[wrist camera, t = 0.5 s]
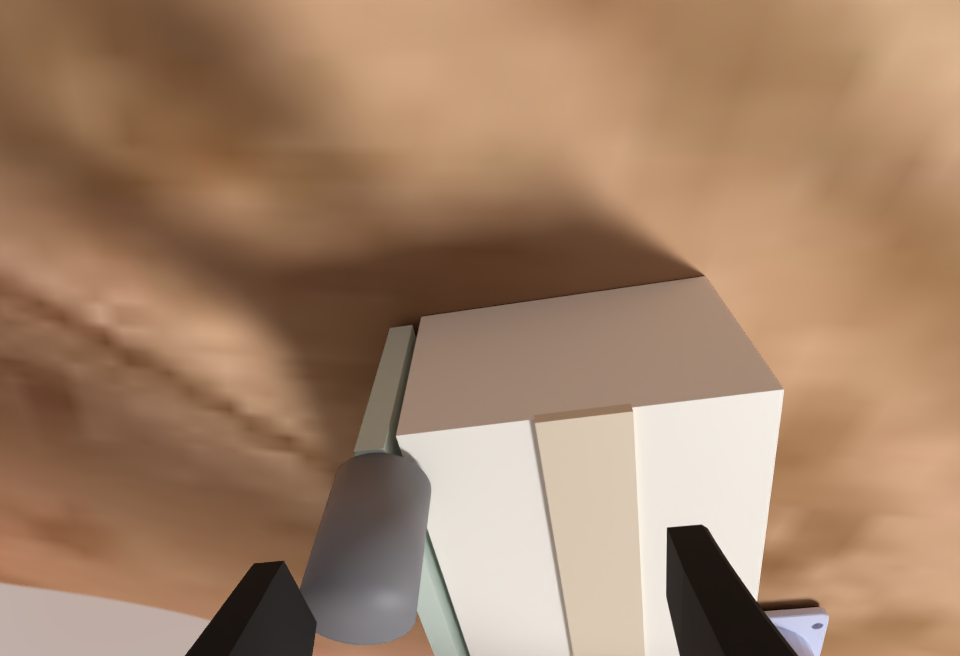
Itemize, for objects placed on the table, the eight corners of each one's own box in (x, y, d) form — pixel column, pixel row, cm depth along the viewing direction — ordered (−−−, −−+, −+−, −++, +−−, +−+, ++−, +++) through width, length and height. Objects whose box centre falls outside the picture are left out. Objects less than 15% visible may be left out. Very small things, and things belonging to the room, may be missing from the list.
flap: (500, 567, 27) (502, 827, 19) (445, 572, 27) (424, 830, 19) (437, 321, 20) (398, 566, 12) (364, 331, 20) (276, 577, 12)
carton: (696, 549, 26) (747, 695, 21) (488, 568, 27) (487, 711, 22) (705, 274, 19) (788, 392, 14) (420, 315, 20) (394, 439, 15)
